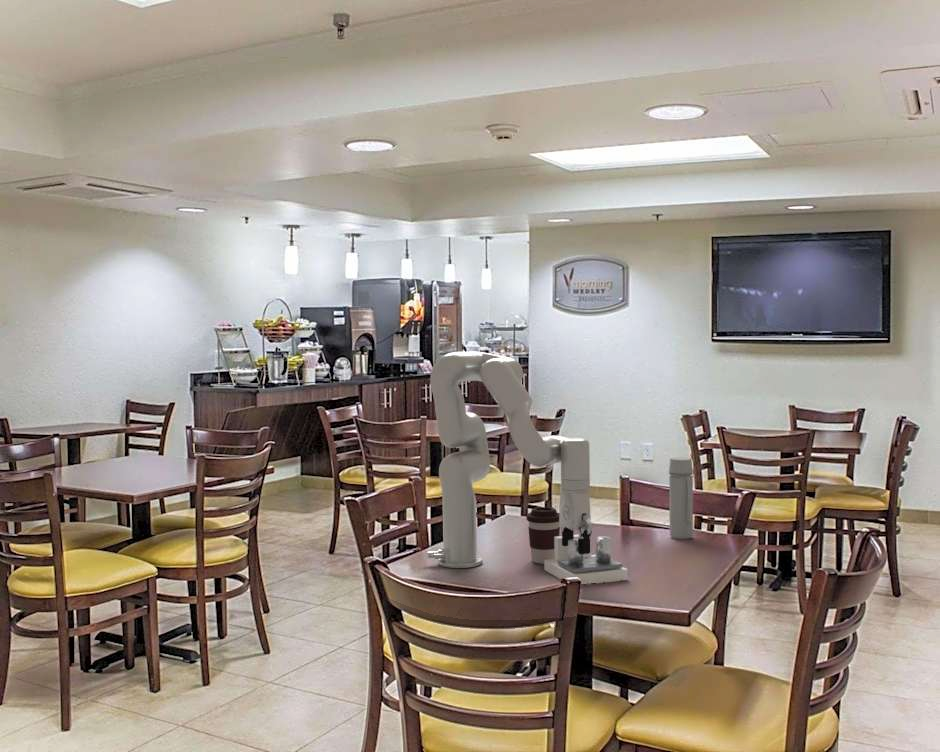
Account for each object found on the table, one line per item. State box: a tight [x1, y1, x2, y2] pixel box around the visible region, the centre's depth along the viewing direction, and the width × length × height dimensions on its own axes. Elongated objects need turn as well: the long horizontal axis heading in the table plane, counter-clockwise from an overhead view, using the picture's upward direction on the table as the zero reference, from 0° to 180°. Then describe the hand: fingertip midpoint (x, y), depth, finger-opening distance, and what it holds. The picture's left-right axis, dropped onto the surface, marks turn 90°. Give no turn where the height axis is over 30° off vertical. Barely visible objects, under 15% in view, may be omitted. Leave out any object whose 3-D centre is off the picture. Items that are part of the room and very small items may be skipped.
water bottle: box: [668, 456, 695, 540], centre depth 286 cm, size 9×8×25 cm
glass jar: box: [595, 535, 613, 562], centre depth 243 cm, size 4×4×6 cm
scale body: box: [544, 533, 629, 585], centre depth 244 cm, size 16×18×9 cm
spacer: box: [568, 539, 583, 565], centre depth 240 cm, size 4×4×6 cm
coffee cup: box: [526, 506, 561, 565], centre depth 259 cm, size 10×10×15 cm
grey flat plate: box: [558, 556, 623, 573], centre depth 242 cm, size 14×10×1 cm
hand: (575, 549), depth 240 cm, fingers open, 9 cm apart
